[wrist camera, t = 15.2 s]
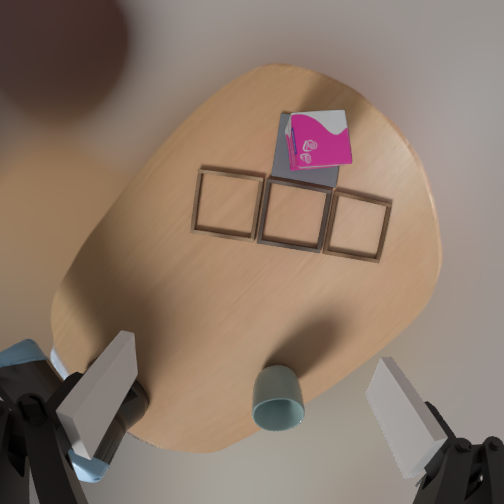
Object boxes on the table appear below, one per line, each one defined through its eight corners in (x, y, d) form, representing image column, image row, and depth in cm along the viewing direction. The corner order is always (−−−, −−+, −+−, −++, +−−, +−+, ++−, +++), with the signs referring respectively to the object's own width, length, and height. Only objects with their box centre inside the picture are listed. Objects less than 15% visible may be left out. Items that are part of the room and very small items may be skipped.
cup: (294, 353, 44) (300, 392, 35) (302, 386, 46) (308, 426, 36) (248, 363, 45) (244, 403, 36) (260, 395, 47) (259, 435, 37)
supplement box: (282, 130, 36) (290, 110, 25) (324, 127, 36) (348, 107, 24) (288, 171, 37) (298, 167, 26) (330, 168, 37) (356, 163, 26)
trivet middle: (257, 242, 40) (256, 243, 40) (267, 178, 38) (267, 178, 38) (318, 252, 40) (319, 253, 40) (330, 190, 38) (331, 190, 37)
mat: (271, 175, 38) (271, 175, 38) (281, 113, 36) (281, 113, 35) (334, 187, 38) (335, 187, 38) (343, 126, 36) (344, 126, 35)
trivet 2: (322, 252, 40) (323, 253, 40) (334, 191, 38) (335, 191, 37) (377, 262, 40) (378, 263, 40) (389, 203, 38) (391, 204, 37)
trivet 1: (191, 232, 40) (190, 232, 40) (199, 169, 38) (198, 169, 38) (253, 241, 40) (253, 242, 40) (263, 178, 38) (263, 178, 38)
